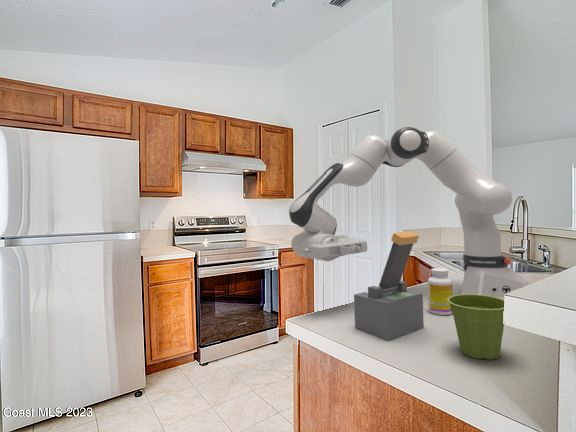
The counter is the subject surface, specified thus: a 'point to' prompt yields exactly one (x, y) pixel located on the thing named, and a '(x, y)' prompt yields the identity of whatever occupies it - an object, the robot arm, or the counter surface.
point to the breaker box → (389, 312)
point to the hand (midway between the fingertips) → (356, 250)
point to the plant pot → (478, 324)
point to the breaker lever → (397, 260)
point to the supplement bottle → (439, 292)
